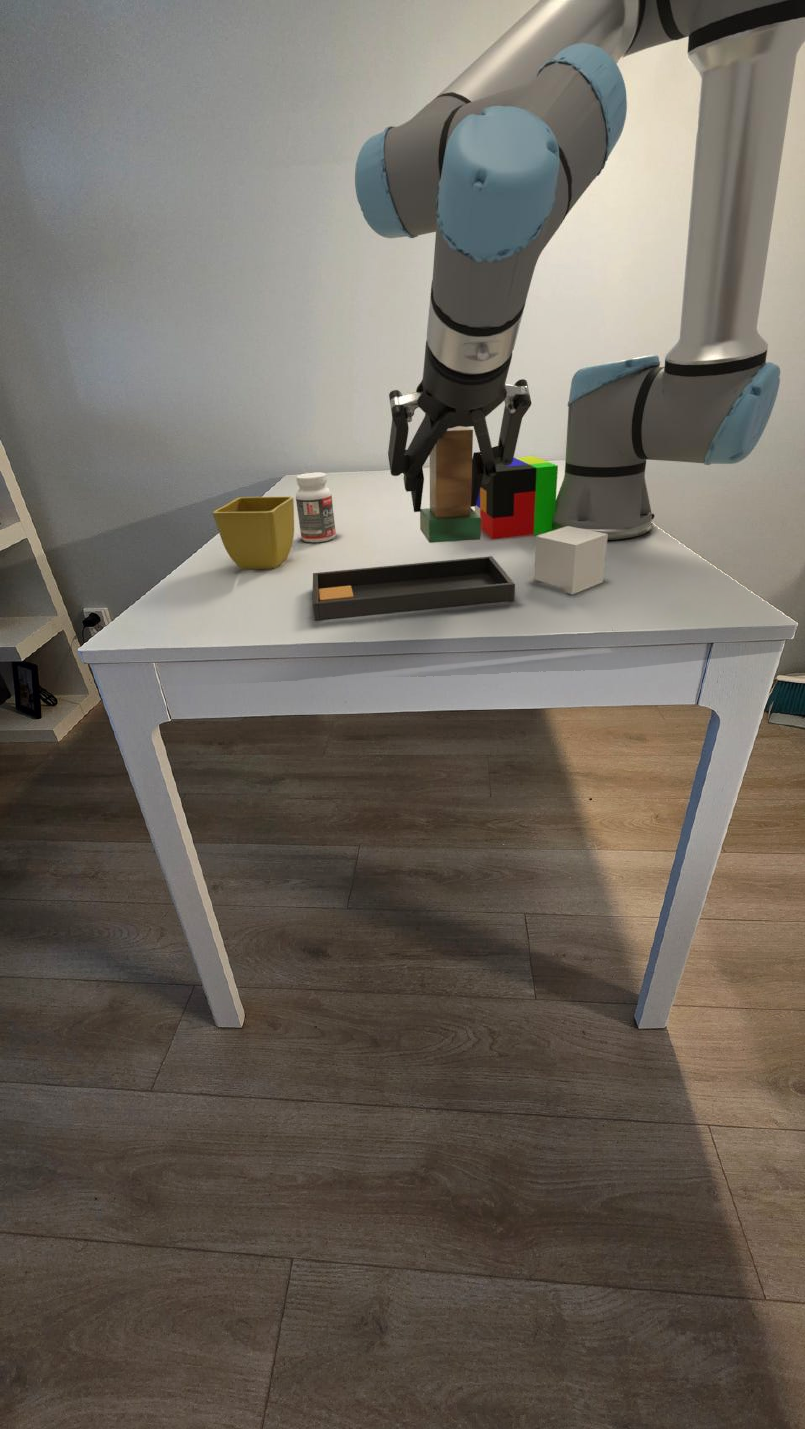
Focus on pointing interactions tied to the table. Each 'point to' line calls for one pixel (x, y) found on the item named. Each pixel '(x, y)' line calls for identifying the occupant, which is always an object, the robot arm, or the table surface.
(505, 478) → the puzzle toy
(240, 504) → the flower pot
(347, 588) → the orange flat block
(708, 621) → the table surface
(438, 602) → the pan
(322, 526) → the pill bottle
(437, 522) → the stacked blocks
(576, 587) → the beige cube
